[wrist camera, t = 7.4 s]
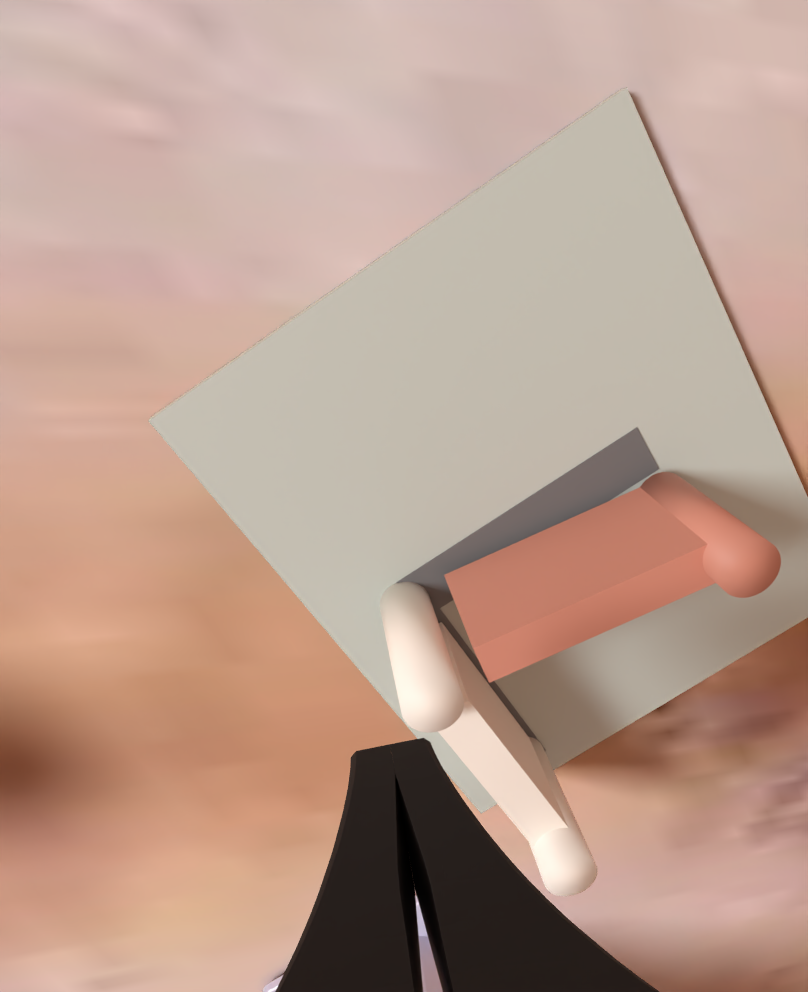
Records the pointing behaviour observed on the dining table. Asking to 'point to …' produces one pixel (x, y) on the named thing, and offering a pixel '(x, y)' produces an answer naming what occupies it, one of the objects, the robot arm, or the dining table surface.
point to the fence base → (482, 735)
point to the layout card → (508, 427)
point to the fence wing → (605, 572)
